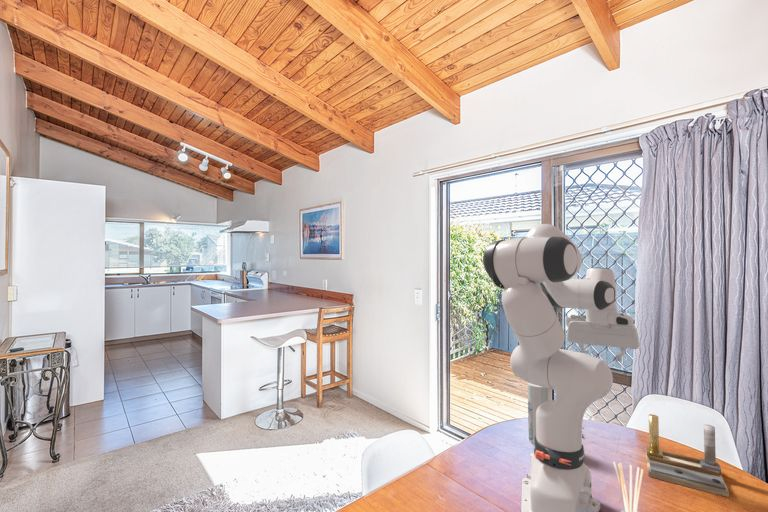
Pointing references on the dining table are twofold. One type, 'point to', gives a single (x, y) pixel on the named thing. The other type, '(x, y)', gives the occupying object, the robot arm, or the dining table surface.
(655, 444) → the leg
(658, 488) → the dining table surface
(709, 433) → the base
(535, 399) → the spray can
